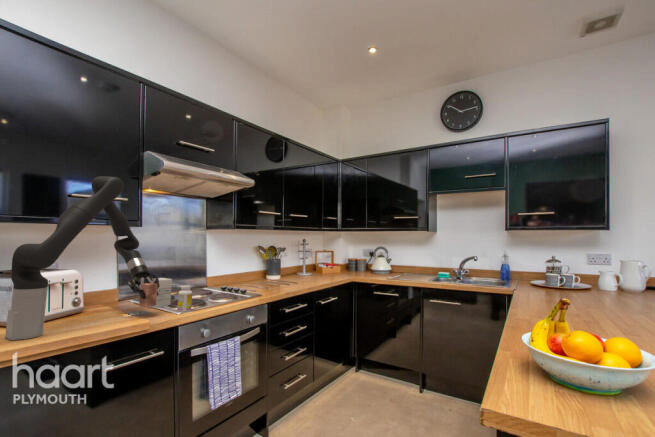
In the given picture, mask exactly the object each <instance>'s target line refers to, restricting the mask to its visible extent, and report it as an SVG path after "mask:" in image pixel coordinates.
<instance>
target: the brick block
mask: <svg viewBox="0 0 655 437" xmlns="http://www.w3.org/2000/svg"><path fill="white" fill-rule="evenodd" d="M157 286H158V284H155V283H145V284H142V287H143V290H144V292H145V294H146V298H145V299H142V298H141V296H140V295H139V303H138V304H139V307H142V308H148V307H149V306H155V305H156V299H157ZM149 308H150V307H149Z"/></svg>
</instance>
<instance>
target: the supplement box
mask: <svg viewBox="0 0 655 437" xmlns="http://www.w3.org/2000/svg"><path fill="white" fill-rule="evenodd" d="M157 278H158V280H159V285H160V287H159V288H158V289H157V291H158V296H157V299H156V305H155V306H149V308H155V309H159V308H164V307H169V306H168V305H170V306H171V298H172V286H173V279H172V278H168V277H167V278H166V277H157ZM152 282H153V281H152Z"/></svg>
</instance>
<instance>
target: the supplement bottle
mask: <svg viewBox="0 0 655 437" xmlns="http://www.w3.org/2000/svg"><path fill="white" fill-rule="evenodd" d="M191 289H192V288H191V285H188V284H187V285H181V286H180V290H179V291H178V293H177V294H178V295H177V309H176V310H177V312H181V313H183V312H185V313H186V312H191V311H192V305H193V302H192V301H193V291H192V290H191Z"/></svg>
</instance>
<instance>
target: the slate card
mask: <svg viewBox="0 0 655 437" xmlns="http://www.w3.org/2000/svg"><path fill="white" fill-rule="evenodd" d="M124 313H125V314H128V315H131V316H134V317H138V316H144V315H149V314H152V312H150V311H145V310H135V311H129V312H124Z"/></svg>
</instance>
